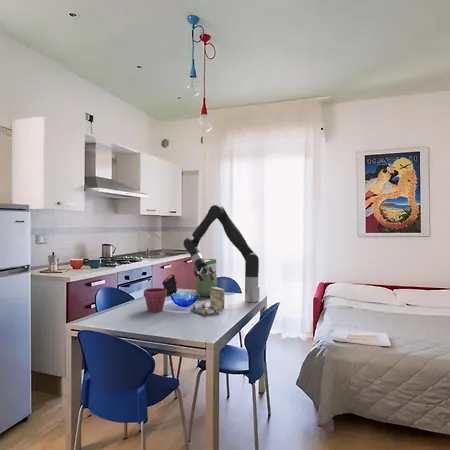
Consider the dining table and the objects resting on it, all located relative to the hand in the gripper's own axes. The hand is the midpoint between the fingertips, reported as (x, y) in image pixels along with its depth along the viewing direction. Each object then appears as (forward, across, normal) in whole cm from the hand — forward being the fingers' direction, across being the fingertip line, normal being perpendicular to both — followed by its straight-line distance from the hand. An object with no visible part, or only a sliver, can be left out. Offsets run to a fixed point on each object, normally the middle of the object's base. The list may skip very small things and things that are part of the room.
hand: (207, 280), depth 243 cm
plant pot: (+10, -37, +13) cm, 40 cm away
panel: (+19, 0, +3) cm, 20 cm away
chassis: (+25, -14, -2) cm, 29 cm away
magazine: (-16, -8, +39) cm, 43 cm away
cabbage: (-3, +12, +25) cm, 28 cm away
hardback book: (-17, +27, +40) cm, 51 cm away
